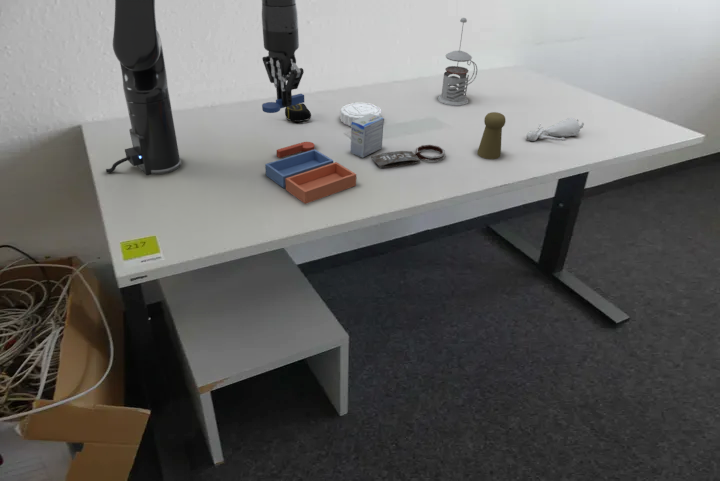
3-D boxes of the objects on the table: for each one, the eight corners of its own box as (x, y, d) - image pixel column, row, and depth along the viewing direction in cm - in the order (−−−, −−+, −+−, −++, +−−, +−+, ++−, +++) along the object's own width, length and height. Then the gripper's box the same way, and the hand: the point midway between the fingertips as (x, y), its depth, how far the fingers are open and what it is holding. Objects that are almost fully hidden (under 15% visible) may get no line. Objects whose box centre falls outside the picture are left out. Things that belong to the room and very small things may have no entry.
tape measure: (311, 122, 158) (311, 110, 156) (287, 124, 156) (287, 112, 154) (306, 114, 163) (305, 101, 161) (283, 115, 161) (282, 103, 159)
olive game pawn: (483, 160, 141) (490, 119, 135) (473, 150, 146) (479, 110, 140) (504, 158, 143) (512, 117, 136) (494, 148, 147) (501, 108, 141)
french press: (432, 95, 180) (441, 14, 166) (464, 93, 183) (476, 13, 169) (445, 106, 172) (455, 22, 158) (478, 103, 175) (492, 20, 161)
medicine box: (369, 143, 147) (370, 112, 142) (382, 148, 145) (384, 117, 140) (350, 153, 142) (350, 121, 137) (363, 158, 140) (364, 126, 135)
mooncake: (388, 125, 158) (388, 113, 156) (348, 130, 154) (349, 118, 152) (371, 110, 167) (372, 99, 165) (334, 114, 163) (334, 103, 161)
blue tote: (283, 188, 126) (282, 176, 124) (265, 175, 131) (265, 163, 129) (333, 171, 133) (333, 160, 132) (315, 160, 138) (314, 149, 137)
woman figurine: (596, 124, 151) (542, 137, 146) (592, 139, 154) (539, 152, 149) (567, 109, 160) (515, 121, 155) (564, 124, 163) (513, 136, 157)
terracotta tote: (305, 204, 120) (305, 192, 119) (285, 190, 125) (285, 178, 123) (356, 185, 128) (356, 174, 126) (336, 173, 133) (336, 161, 131)
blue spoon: (268, 114, 123) (268, 106, 122) (259, 109, 125) (258, 101, 124) (307, 104, 129) (307, 96, 128) (297, 99, 131) (297, 91, 130)
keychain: (369, 157, 141) (369, 150, 139) (436, 148, 146) (437, 141, 145) (380, 170, 135) (381, 163, 133) (450, 160, 140) (451, 153, 139)
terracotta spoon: (308, 144, 146) (308, 137, 145) (317, 149, 143) (317, 143, 142) (274, 154, 140) (273, 147, 139) (282, 160, 138) (282, 153, 137)
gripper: (248, 22, 119) (254, 99, 129) (283, 35, 111) (287, 117, 121) (277, 17, 123) (281, 93, 133) (313, 30, 115) (315, 110, 125)
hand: (284, 104), depth 127 cm, fingers closed on blue spoon, 1 cm apart
